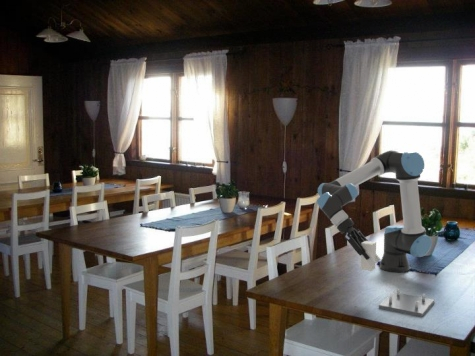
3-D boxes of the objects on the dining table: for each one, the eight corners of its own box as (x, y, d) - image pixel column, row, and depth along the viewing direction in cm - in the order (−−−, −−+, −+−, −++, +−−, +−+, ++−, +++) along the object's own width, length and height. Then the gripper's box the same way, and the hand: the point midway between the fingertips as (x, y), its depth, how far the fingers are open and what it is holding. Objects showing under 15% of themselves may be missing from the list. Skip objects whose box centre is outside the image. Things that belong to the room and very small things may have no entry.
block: (364, 266, 245) (365, 240, 244) (375, 268, 243) (376, 242, 241) (360, 269, 241) (361, 243, 240) (371, 271, 238) (372, 244, 237)
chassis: (393, 295, 245) (393, 285, 245) (434, 302, 235) (434, 292, 235) (378, 308, 229) (379, 298, 228) (422, 317, 219) (422, 306, 218)
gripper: (344, 224, 256) (377, 263, 249) (328, 230, 241) (363, 272, 234) (355, 214, 252) (389, 253, 245) (340, 220, 237) (375, 262, 230)
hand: (376, 262), depth 239 cm, fingers closed on block, 5 cm apart
